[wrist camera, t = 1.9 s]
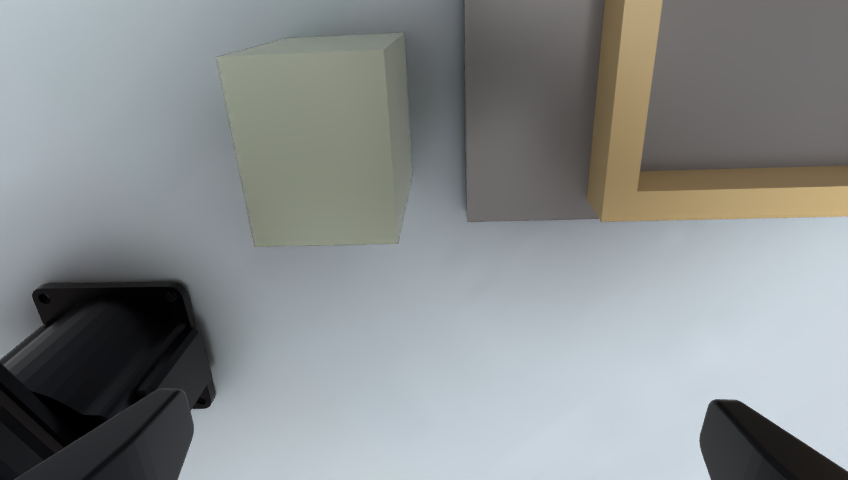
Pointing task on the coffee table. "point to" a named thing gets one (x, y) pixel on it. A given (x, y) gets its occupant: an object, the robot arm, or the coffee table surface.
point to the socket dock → (656, 109)
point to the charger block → (321, 138)
